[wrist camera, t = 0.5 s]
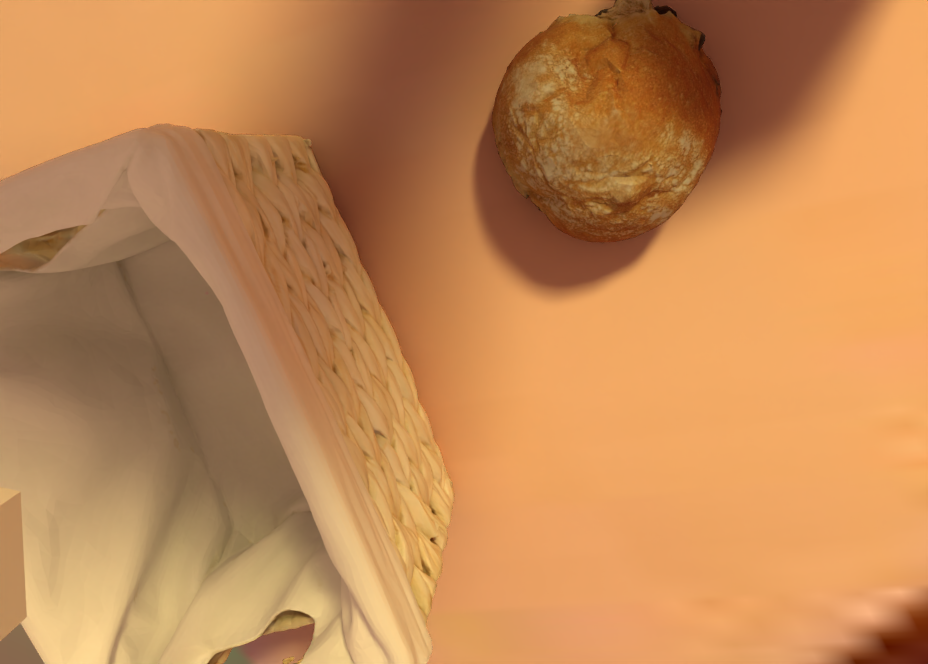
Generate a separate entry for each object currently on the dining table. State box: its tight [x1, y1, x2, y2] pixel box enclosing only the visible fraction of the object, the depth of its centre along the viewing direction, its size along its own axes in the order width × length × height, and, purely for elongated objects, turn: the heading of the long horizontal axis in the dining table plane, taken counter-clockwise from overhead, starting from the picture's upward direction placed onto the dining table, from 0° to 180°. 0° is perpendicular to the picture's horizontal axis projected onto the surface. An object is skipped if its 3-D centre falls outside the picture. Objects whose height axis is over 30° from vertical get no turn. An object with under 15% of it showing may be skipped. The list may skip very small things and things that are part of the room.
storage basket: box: [0, 124, 455, 664], centre depth 35 cm, size 24×16×15 cm
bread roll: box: [492, 0, 722, 242], centre depth 33 cm, size 10×10×8 cm
